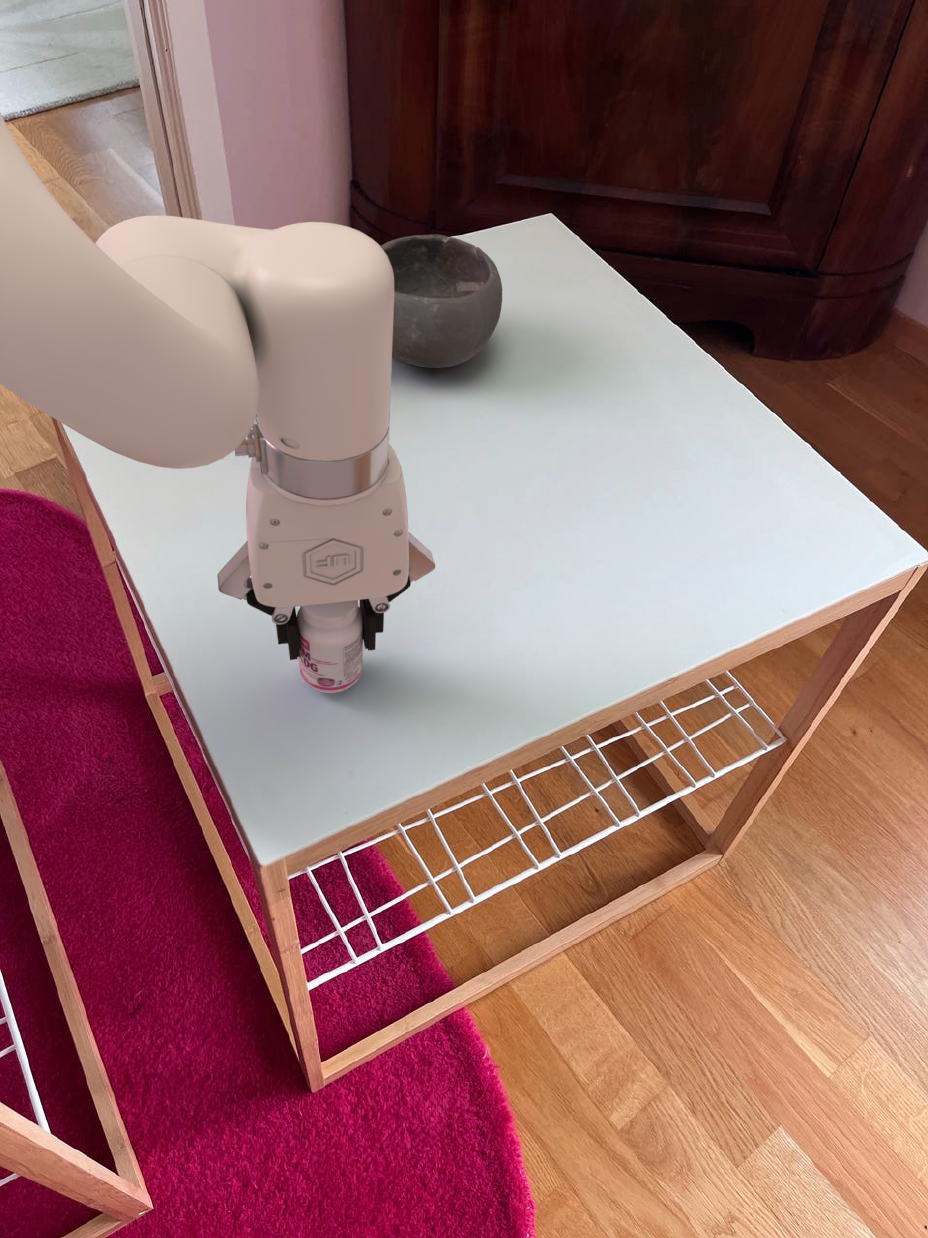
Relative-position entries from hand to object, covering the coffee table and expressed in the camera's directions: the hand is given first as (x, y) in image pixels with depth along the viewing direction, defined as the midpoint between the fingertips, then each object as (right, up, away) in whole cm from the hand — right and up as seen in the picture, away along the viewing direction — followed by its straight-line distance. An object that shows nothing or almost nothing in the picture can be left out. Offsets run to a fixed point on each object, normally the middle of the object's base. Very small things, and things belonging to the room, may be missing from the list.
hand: (330, 638), depth 69 cm
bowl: (+6, +30, +32) cm, 44 cm away
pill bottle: (0, -3, +3) cm, 4 cm away
